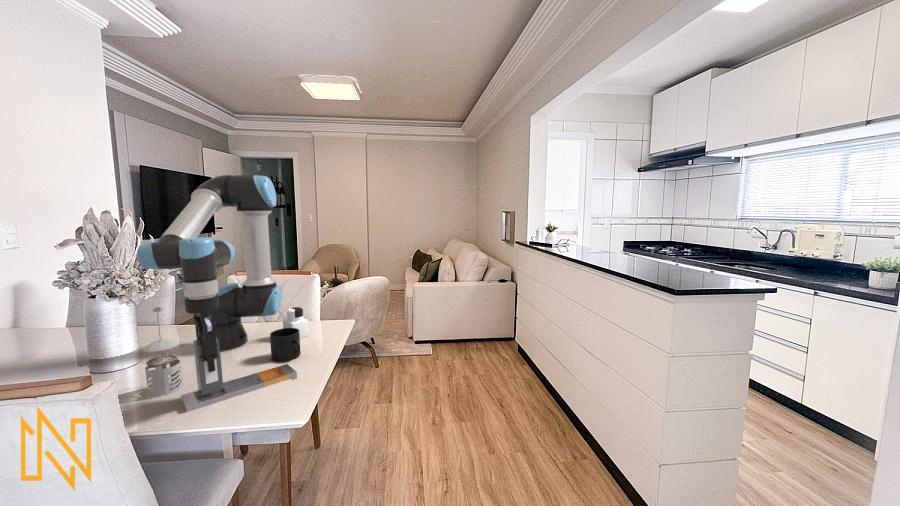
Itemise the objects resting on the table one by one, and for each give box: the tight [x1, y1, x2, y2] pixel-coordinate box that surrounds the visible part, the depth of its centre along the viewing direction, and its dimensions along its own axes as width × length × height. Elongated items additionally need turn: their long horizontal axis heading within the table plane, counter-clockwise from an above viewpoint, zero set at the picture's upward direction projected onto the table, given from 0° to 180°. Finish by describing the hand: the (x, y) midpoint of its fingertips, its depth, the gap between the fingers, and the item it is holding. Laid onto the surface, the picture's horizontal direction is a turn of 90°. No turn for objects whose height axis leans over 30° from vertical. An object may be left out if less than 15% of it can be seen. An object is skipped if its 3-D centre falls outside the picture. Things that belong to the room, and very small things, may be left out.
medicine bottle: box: [282, 306, 310, 339], centre depth 145 cm, size 7×7×12 cm
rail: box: [180, 363, 298, 413], centre depth 103 cm, size 8×28×2 cm, turn 134°
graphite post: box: [192, 338, 224, 396], centre depth 97 cm, size 5×5×14 cm
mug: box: [269, 327, 301, 363], centre depth 125 cm, size 9×12×9 cm
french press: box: [142, 306, 186, 399], centre depth 101 cm, size 10×12×25 cm
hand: (209, 377), depth 97 cm, fingers closed on graphite post, 5 cm apart
